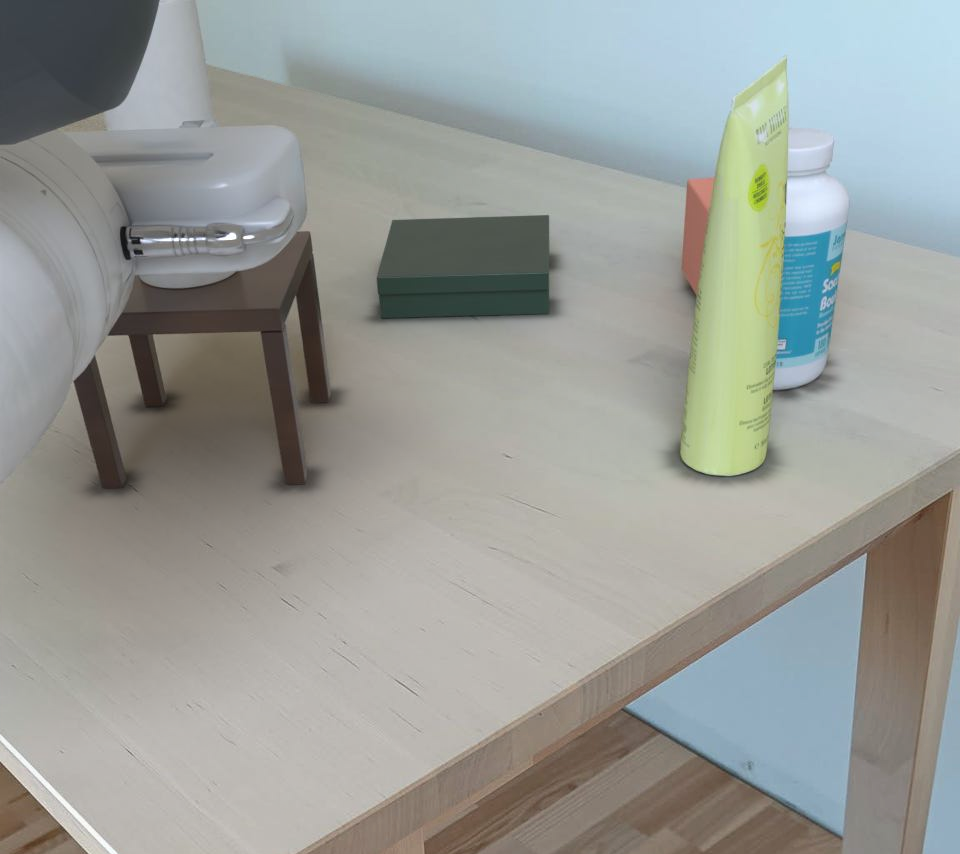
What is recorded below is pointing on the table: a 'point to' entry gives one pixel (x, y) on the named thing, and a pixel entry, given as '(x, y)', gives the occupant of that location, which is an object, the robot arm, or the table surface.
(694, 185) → the salmon pink upright block
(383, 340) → the table surface
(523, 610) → the table surface
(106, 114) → the bottle
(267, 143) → the robot arm
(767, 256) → the tube
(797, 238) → the pill bottle
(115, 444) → the small brown table
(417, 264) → the green lidded gift box
